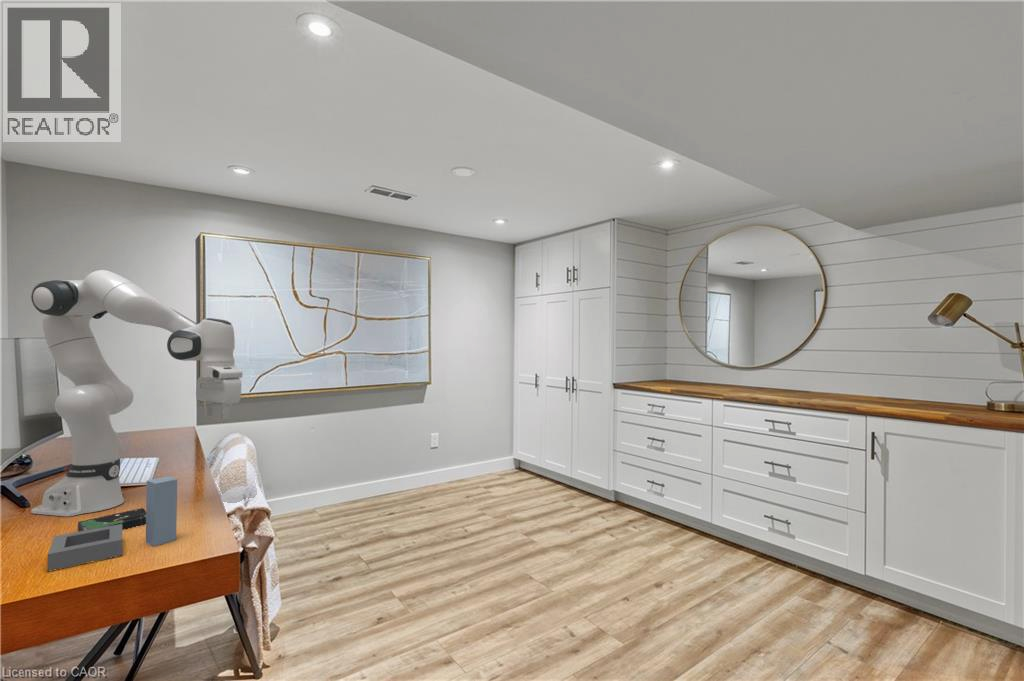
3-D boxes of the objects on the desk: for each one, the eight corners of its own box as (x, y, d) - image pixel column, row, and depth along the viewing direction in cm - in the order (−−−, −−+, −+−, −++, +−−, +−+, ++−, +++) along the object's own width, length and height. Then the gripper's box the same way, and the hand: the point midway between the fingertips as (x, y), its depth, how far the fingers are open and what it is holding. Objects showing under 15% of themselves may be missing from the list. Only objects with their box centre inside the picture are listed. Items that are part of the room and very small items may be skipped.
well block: (53, 552, 116) (53, 536, 116) (122, 539, 124) (122, 523, 125) (47, 572, 106) (47, 554, 106) (122, 556, 114) (122, 539, 115)
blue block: (145, 542, 123) (146, 480, 123) (167, 535, 127) (168, 476, 127) (153, 546, 120) (154, 483, 120) (176, 540, 124) (177, 479, 124)
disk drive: (142, 516, 142) (76, 531, 130) (142, 507, 142) (76, 521, 131) (154, 524, 136) (86, 540, 124) (154, 515, 136) (86, 530, 124)
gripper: (190, 370, 147) (189, 415, 147) (223, 373, 136) (223, 421, 136) (212, 370, 152) (211, 412, 152) (245, 372, 141) (245, 418, 141)
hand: (217, 416), depth 144 cm, fingers open, 8 cm apart
